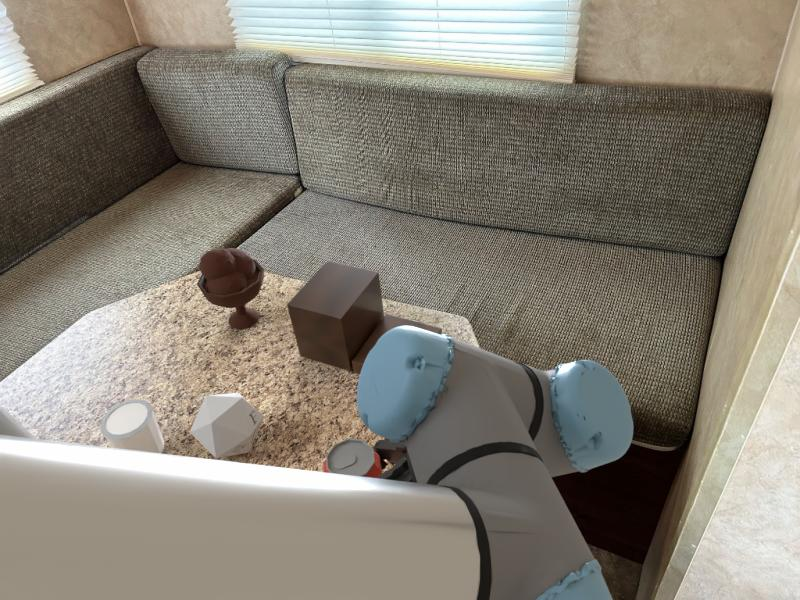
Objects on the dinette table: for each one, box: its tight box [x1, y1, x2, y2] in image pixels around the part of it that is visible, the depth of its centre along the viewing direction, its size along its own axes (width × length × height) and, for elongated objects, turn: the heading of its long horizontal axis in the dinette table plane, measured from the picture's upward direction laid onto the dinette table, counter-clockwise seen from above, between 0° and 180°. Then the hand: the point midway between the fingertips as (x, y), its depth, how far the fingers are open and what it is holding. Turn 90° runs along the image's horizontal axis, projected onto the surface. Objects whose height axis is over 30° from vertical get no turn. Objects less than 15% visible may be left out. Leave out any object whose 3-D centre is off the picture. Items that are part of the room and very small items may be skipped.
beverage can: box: [322, 437, 383, 478], centre depth 67 cm, size 6×6×12 cm
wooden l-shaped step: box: [286, 260, 443, 375], centre depth 95 cm, size 20×12×11 cm, turn 64°
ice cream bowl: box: [196, 247, 265, 331], centre depth 102 cm, size 11×11×15 cm
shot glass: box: [99, 398, 165, 454], centre depth 84 cm, size 7×7×7 cm
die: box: [189, 392, 265, 459], centre depth 83 cm, size 8×9×10 cm
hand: (332, 493), depth 70 cm, fingers closed on beverage can, 6 cm apart
